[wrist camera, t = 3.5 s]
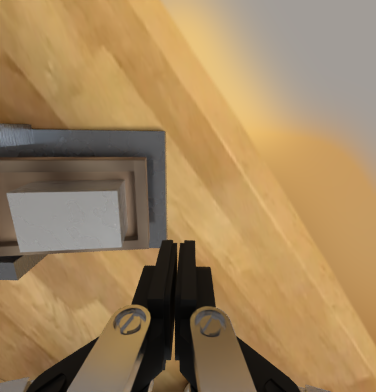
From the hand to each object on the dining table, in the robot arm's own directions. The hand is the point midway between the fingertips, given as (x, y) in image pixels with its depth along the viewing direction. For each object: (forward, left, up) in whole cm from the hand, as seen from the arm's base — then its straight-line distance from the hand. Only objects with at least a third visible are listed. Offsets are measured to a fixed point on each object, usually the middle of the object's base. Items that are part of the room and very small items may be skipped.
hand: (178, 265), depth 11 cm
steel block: (+10, +1, -10) cm, 14 cm away
